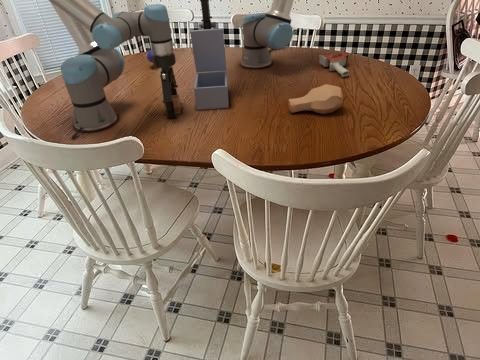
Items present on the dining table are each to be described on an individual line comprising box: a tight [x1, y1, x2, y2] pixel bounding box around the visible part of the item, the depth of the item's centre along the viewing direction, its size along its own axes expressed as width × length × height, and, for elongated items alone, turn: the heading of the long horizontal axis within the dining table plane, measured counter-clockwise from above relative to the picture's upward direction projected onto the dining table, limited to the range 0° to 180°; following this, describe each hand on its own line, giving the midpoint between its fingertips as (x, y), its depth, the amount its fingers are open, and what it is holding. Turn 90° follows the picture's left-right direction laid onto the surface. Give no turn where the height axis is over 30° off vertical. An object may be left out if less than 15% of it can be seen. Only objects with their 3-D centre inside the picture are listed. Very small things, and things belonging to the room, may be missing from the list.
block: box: [163, 94, 182, 116], centre depth 136 cm, size 6×6×6 cm
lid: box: [189, 21, 227, 73], centre depth 142 cm, size 18×12×9 cm
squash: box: [287, 83, 344, 115], centre depth 129 cm, size 11×20×9 cm, turn 92°
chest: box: [193, 70, 230, 111], centre depth 142 cm, size 17×12×9 cm
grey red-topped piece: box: [318, 51, 350, 78], centre depth 164 cm, size 18×5×20 cm
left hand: (173, 110), depth 138 cm, fingers open, 11 cm apart
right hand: (208, 37), depth 141 cm, fingers closed on lid, 2 cm apart
